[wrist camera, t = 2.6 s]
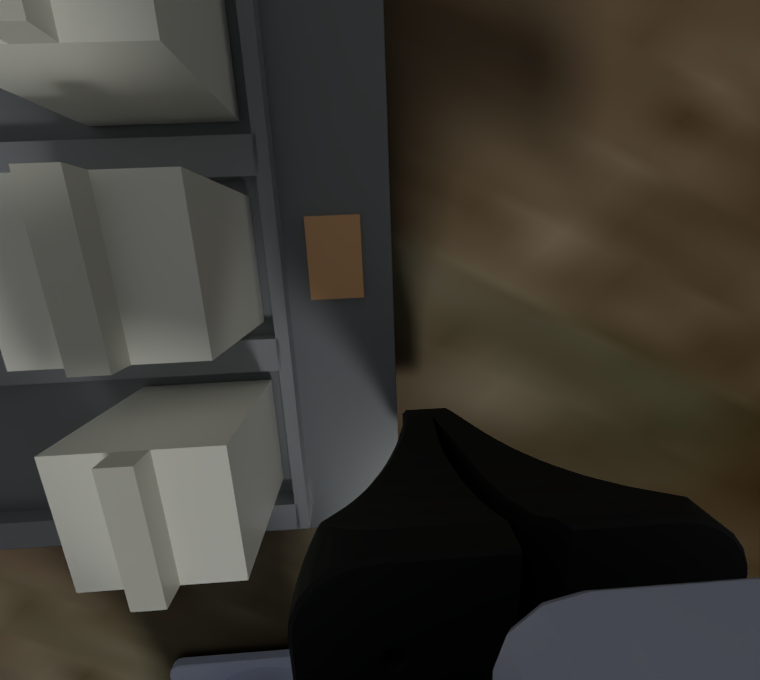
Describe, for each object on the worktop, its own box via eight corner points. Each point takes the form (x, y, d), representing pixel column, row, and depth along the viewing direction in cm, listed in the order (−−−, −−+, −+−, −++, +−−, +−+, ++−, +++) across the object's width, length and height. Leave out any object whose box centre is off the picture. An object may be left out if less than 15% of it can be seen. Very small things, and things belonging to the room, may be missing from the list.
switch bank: (397, 499, 15) (402, 533, 13) (-73, 531, 14) (-135, 571, 12) (376, -109, 10) (379, -185, 8) (-339, -102, 9) (-502, -183, 7)
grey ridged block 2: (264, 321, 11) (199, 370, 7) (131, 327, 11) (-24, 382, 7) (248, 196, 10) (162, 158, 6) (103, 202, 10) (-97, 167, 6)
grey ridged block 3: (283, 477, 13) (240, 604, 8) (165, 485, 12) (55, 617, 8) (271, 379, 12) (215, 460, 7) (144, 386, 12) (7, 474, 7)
